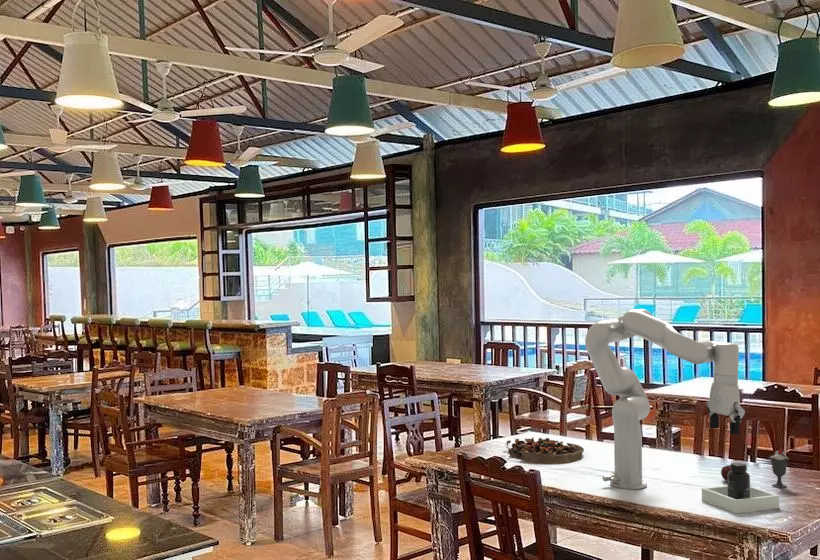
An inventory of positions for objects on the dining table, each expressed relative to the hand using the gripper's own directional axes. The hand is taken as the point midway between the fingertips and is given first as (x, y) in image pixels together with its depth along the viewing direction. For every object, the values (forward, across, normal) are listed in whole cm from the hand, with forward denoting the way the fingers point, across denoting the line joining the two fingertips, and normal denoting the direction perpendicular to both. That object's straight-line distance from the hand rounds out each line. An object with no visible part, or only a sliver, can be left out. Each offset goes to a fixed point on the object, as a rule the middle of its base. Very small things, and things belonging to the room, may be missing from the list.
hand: (724, 431), depth 263 cm
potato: (+23, -17, +20) cm, 35 cm away
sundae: (+23, -8, +31) cm, 39 cm away
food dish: (+26, -82, -23) cm, 89 cm away
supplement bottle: (+22, +6, +2) cm, 23 cm away
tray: (+23, +6, +2) cm, 24 cm away
